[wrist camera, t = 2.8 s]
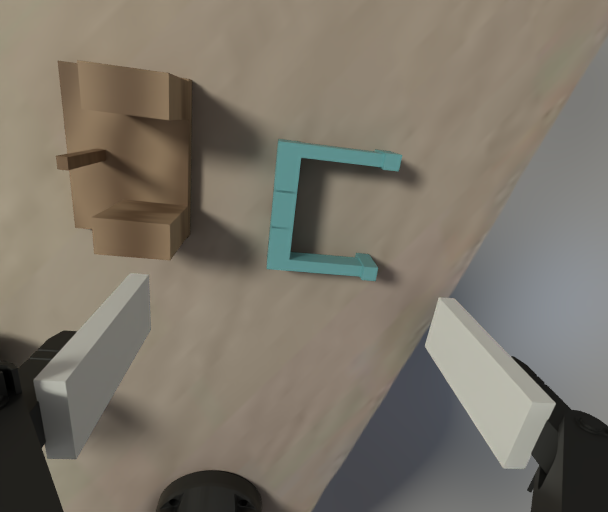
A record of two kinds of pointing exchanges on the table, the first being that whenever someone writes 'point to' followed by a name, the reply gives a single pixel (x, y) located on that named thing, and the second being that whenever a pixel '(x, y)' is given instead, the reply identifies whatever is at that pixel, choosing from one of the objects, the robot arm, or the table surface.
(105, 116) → the stand
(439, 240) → the table surface
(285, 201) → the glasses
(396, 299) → the table surface
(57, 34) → the table surface
